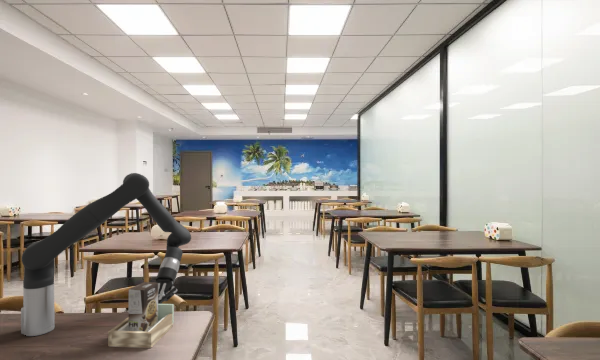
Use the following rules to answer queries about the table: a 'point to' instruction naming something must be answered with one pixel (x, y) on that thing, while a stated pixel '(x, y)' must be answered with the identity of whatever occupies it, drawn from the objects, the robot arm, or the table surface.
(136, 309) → the coffee box
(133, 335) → the box
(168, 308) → the drawer
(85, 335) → the table surface
